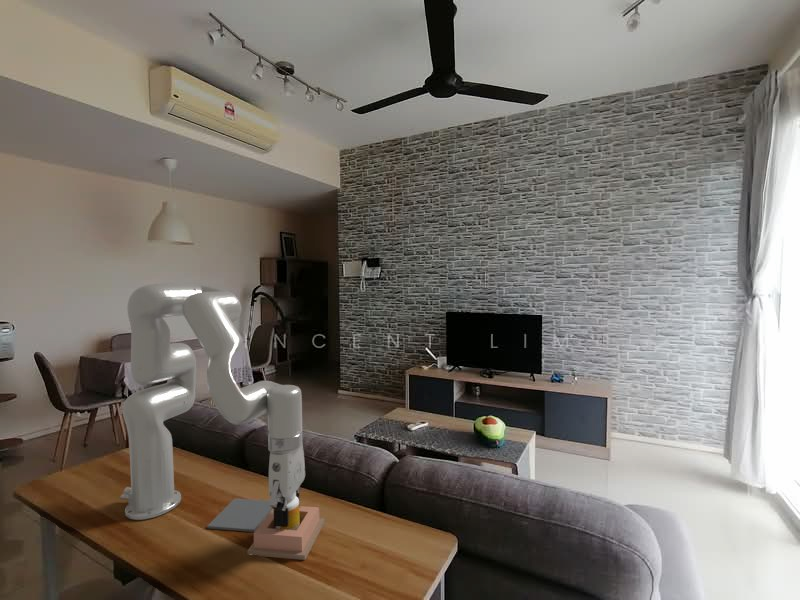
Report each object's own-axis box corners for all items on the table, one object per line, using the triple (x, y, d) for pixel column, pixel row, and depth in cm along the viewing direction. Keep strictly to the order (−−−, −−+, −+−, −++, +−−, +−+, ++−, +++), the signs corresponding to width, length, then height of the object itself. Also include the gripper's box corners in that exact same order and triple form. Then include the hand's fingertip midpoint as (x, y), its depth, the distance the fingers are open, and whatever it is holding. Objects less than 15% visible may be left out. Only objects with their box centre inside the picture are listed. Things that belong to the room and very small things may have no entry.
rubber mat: (207, 528, 94) (207, 525, 94) (234, 500, 106) (234, 498, 106) (254, 532, 92) (254, 529, 92) (276, 503, 104) (276, 501, 104)
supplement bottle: (304, 528, 91) (303, 488, 90) (286, 542, 86) (285, 499, 86) (288, 521, 94) (287, 482, 93) (270, 533, 89) (269, 492, 89)
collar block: (247, 555, 84) (246, 535, 84) (274, 518, 97) (274, 501, 97) (304, 560, 83) (304, 540, 83) (324, 522, 96) (324, 505, 95)
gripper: (285, 458, 80) (286, 543, 81) (314, 427, 97) (315, 498, 98) (250, 456, 81) (252, 540, 82) (286, 425, 98) (287, 495, 99)
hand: (287, 516), depth 90 cm, fingers closed on supplement bottle, 5 cm apart
